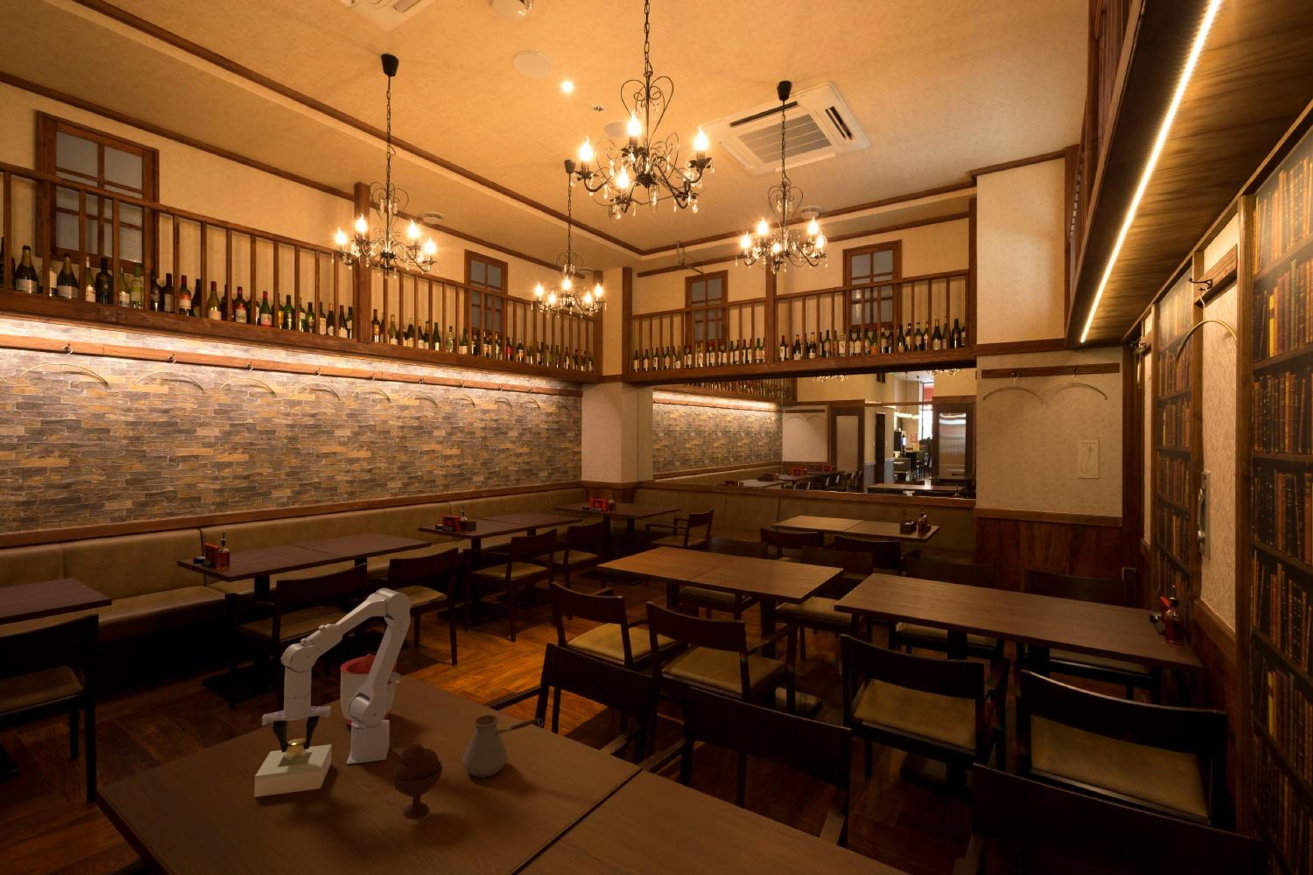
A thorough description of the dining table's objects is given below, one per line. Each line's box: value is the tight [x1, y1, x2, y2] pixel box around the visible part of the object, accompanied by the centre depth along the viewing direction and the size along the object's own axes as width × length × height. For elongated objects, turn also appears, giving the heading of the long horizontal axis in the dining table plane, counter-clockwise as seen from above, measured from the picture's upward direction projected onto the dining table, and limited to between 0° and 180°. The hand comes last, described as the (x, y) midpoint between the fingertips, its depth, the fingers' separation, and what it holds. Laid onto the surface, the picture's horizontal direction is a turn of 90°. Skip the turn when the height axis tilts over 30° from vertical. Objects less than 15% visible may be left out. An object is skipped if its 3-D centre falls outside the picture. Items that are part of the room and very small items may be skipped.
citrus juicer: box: [339, 653, 402, 727], centre depth 185 cm, size 16×17×20 cm
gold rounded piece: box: [285, 737, 307, 760], centre depth 150 cm, size 4×4×3 cm
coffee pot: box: [462, 714, 544, 778], centre depth 157 cm, size 21×12×15 cm, turn 78°
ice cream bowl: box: [391, 743, 443, 819], centre depth 139 cm, size 11×11×15 cm
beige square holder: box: [253, 744, 332, 798], centre depth 151 cm, size 14×12×5 cm
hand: (296, 748), depth 150 cm, fingers closed on gold rounded piece, 4 cm apart
